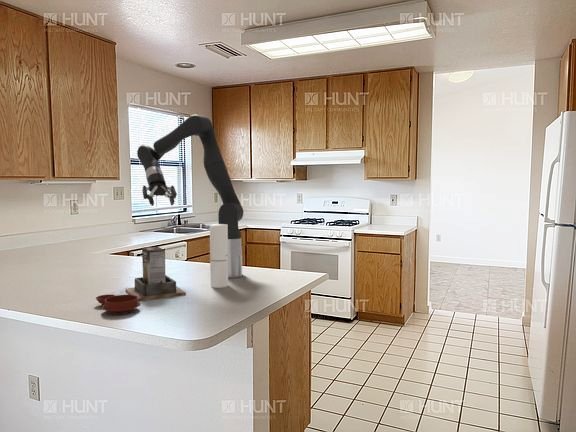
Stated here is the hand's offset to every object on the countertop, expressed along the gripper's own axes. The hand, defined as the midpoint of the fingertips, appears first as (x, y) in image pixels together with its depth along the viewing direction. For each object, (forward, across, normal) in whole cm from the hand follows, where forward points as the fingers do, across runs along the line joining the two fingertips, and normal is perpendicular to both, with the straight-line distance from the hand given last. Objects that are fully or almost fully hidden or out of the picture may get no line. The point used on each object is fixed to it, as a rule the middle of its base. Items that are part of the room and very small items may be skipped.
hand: (162, 204), depth 189 cm
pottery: (+51, -27, -4) cm, 58 cm away
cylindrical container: (+42, +15, +4) cm, 45 cm away
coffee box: (+40, -11, +5) cm, 42 cm away
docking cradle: (+41, -10, +6) cm, 42 cm away
